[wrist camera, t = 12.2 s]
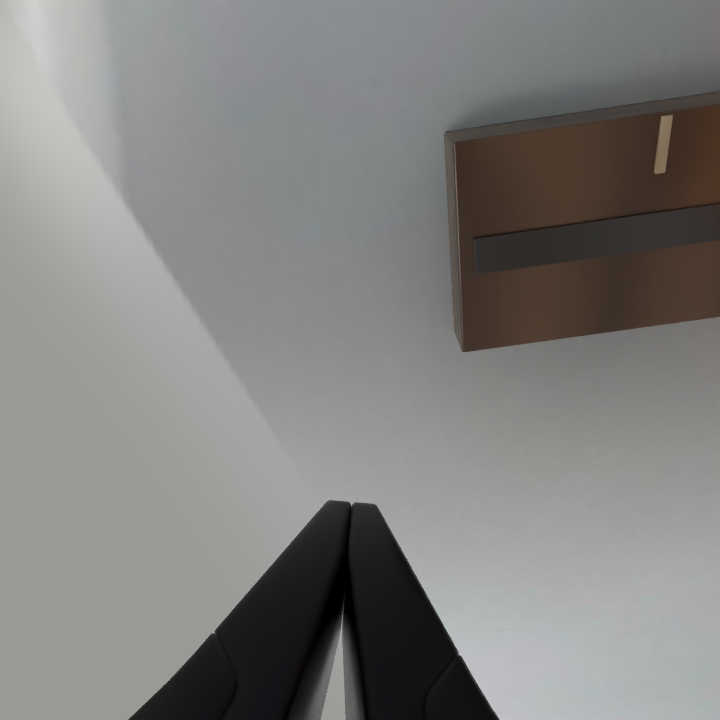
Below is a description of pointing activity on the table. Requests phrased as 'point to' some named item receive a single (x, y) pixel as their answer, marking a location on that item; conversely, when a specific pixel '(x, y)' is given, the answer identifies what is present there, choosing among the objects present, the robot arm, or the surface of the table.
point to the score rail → (585, 222)
